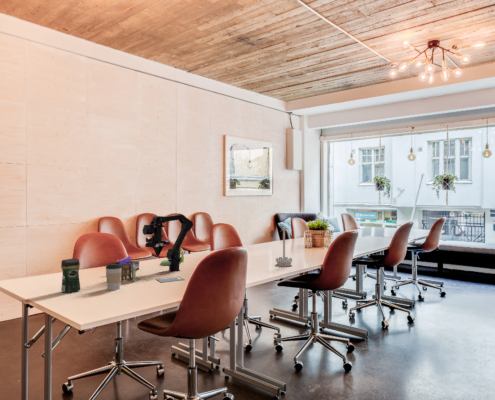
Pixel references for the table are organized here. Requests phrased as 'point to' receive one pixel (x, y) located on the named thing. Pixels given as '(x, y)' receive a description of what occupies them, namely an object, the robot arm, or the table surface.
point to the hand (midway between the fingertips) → (157, 256)
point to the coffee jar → (70, 275)
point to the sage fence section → (133, 271)
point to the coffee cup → (113, 276)
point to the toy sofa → (127, 260)
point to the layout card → (170, 279)
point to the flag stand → (284, 260)
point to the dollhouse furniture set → (178, 256)
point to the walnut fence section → (125, 268)
